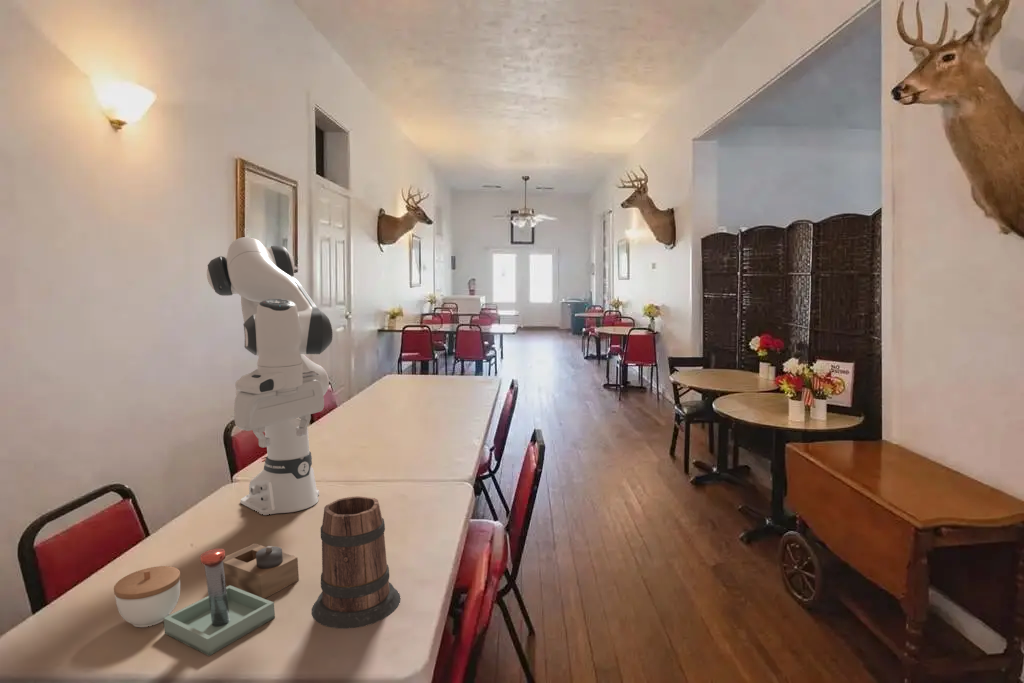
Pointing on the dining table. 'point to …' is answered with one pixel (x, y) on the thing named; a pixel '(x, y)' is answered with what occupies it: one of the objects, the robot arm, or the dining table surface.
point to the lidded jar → (148, 595)
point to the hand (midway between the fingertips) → (283, 440)
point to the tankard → (354, 566)
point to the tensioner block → (260, 570)
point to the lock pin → (216, 586)
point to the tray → (202, 636)
